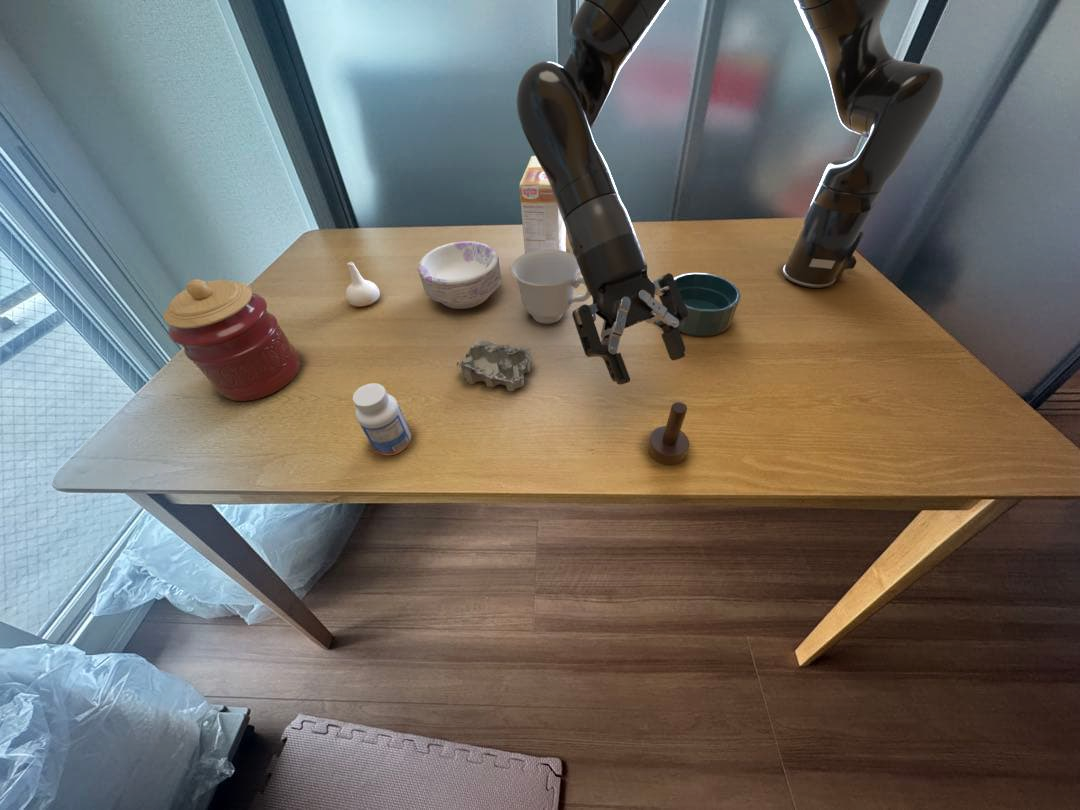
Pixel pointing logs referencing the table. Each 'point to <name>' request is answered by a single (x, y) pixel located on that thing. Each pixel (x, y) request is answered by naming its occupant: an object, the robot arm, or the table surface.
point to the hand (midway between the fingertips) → (652, 370)
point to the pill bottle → (381, 419)
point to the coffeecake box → (540, 211)
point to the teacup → (547, 283)
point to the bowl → (707, 303)
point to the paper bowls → (460, 273)
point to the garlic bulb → (360, 289)
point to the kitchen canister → (232, 338)
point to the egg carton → (496, 364)
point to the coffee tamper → (670, 438)
